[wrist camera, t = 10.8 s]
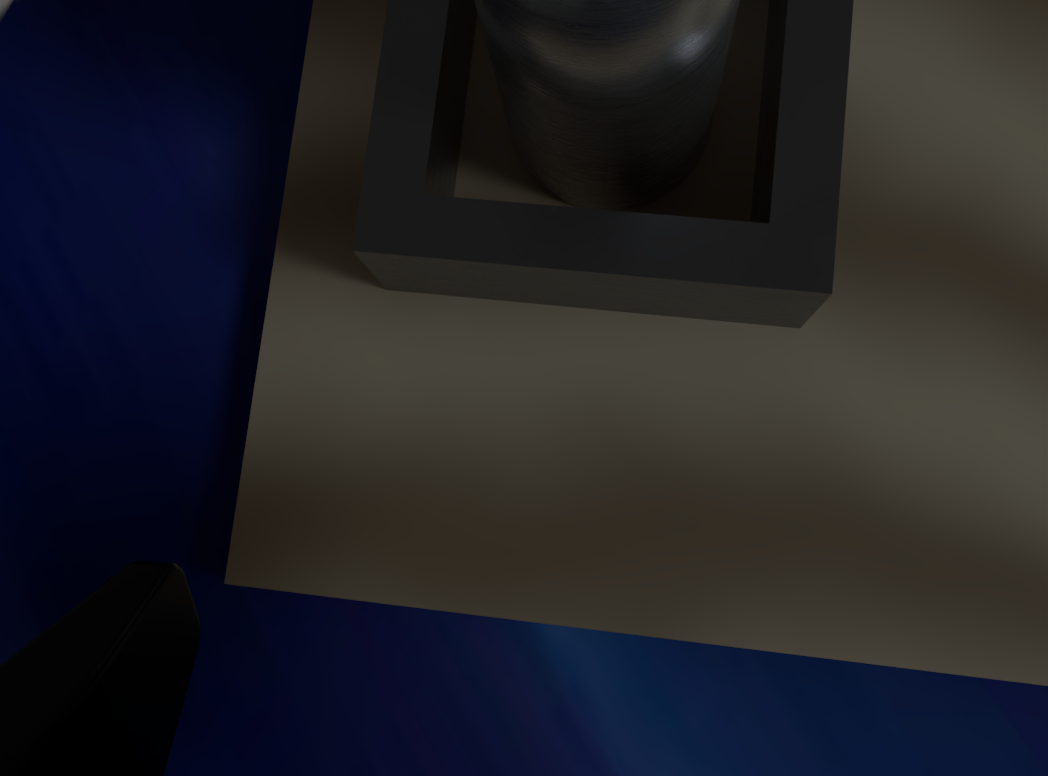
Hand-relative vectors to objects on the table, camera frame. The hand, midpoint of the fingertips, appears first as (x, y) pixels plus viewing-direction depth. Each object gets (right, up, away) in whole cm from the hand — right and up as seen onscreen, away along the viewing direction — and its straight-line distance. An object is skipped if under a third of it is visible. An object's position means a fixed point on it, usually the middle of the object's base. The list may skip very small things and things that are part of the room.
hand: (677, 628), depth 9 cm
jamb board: (+6, +4, +13) cm, 15 cm away
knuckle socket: (0, +8, +13) cm, 15 cm away
